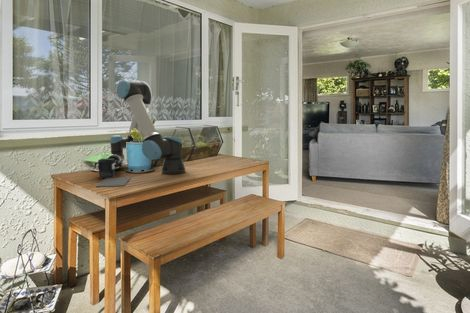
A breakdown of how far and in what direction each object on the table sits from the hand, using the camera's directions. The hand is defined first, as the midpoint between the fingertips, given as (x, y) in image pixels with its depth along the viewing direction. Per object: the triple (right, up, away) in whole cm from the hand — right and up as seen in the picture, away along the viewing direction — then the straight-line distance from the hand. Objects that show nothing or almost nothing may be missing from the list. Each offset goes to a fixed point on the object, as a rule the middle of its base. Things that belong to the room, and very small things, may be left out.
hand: (104, 167), depth 181 cm
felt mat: (+8, -8, -6) cm, 13 cm away
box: (-1, -6, +6) cm, 8 cm away
